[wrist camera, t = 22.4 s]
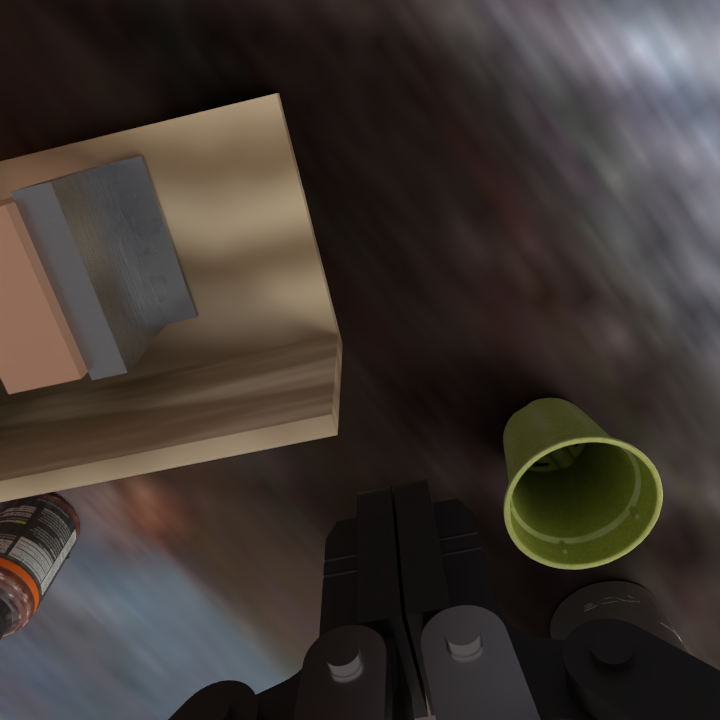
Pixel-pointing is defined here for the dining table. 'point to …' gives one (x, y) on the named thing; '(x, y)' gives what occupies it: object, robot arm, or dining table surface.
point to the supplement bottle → (32, 554)
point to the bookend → (108, 260)
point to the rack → (214, 321)
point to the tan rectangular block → (30, 315)
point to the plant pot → (575, 488)
